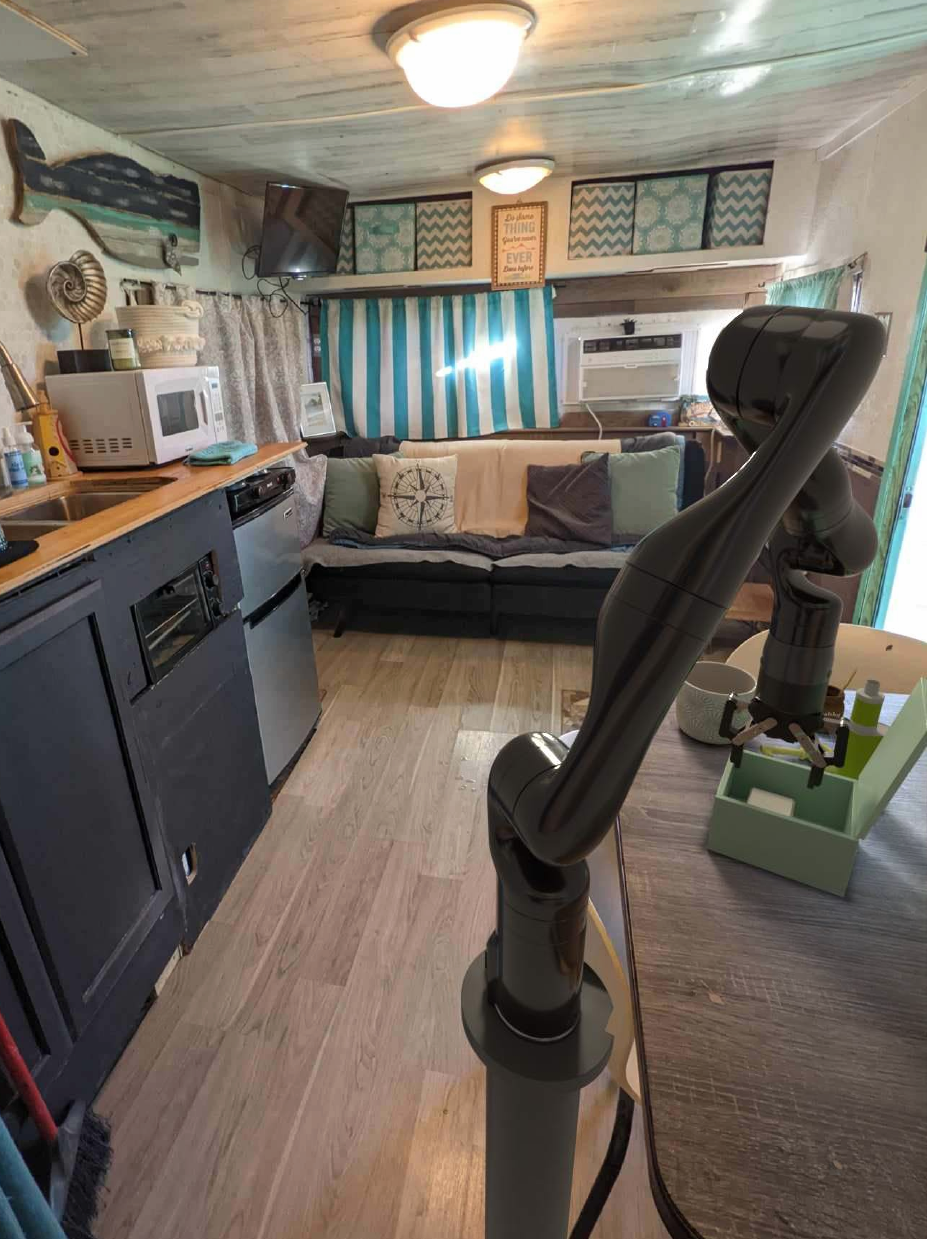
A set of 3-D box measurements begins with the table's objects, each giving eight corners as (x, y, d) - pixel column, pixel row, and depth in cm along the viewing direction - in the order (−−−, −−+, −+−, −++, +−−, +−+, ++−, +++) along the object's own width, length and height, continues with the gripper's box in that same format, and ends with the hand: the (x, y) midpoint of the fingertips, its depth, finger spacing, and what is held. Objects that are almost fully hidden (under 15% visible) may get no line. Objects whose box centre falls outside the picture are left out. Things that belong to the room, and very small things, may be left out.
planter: (746, 759, 106) (756, 702, 102) (666, 740, 112) (673, 685, 108) (751, 723, 116) (761, 669, 112) (677, 707, 122) (684, 655, 118)
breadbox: (706, 848, 88) (715, 796, 85) (724, 794, 98) (732, 746, 95) (843, 897, 79) (858, 841, 76) (847, 832, 90) (861, 780, 86)
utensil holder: (802, 712, 118) (814, 654, 114) (843, 722, 114) (857, 662, 110) (798, 727, 114) (810, 667, 109) (840, 738, 110) (855, 676, 106)
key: (753, 754, 107) (755, 744, 106) (819, 745, 109) (821, 734, 108) (785, 781, 100) (788, 770, 100) (854, 770, 102) (857, 759, 101)
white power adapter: (784, 862, 84) (790, 835, 83) (736, 845, 87) (741, 819, 86) (791, 818, 92) (797, 792, 90) (747, 804, 95) (752, 779, 93)
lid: (927, 729, 68) (986, 752, 66) (920, 677, 79) (972, 695, 76) (855, 837, 76) (906, 860, 74) (858, 776, 86) (903, 795, 84)
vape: (823, 790, 98) (850, 675, 91) (867, 794, 97) (899, 677, 89) (834, 806, 94) (863, 688, 87) (880, 810, 93) (913, 690, 86)
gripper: (864, 669, 79) (837, 777, 85) (736, 645, 87) (719, 745, 93) (863, 696, 74) (834, 809, 79) (726, 667, 82) (709, 772, 87)
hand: (772, 775), depth 86 cm, fingers open, 8 cm apart
